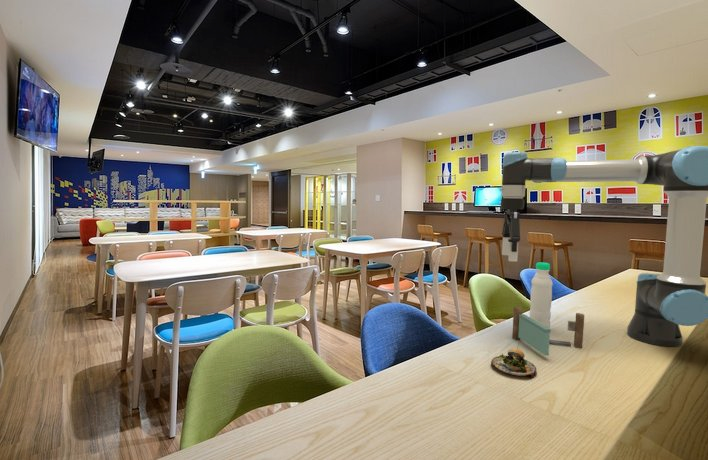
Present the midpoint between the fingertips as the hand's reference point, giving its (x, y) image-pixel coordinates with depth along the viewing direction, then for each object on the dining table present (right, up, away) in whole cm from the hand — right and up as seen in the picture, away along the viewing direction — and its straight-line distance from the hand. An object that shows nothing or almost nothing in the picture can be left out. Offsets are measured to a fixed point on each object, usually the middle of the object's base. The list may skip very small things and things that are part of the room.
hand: (509, 258), depth 130 cm
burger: (-9, -30, -25) cm, 40 cm away
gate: (+3, -27, -12) cm, 30 cm away
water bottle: (+15, -27, +8) cm, 32 cm away
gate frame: (+11, -28, -4) cm, 30 cm away
